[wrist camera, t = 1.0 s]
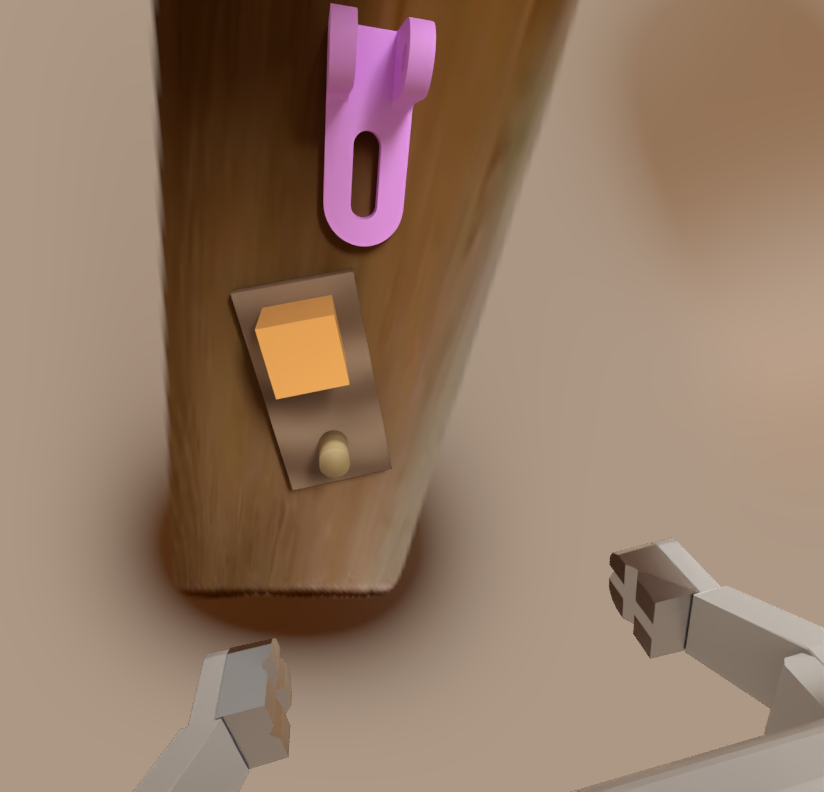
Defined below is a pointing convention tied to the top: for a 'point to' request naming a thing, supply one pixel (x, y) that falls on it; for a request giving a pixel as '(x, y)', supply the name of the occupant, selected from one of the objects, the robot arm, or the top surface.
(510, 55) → the top surface
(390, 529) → the top surface
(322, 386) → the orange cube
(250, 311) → the peg board
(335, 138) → the bracket
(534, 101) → the top surface
